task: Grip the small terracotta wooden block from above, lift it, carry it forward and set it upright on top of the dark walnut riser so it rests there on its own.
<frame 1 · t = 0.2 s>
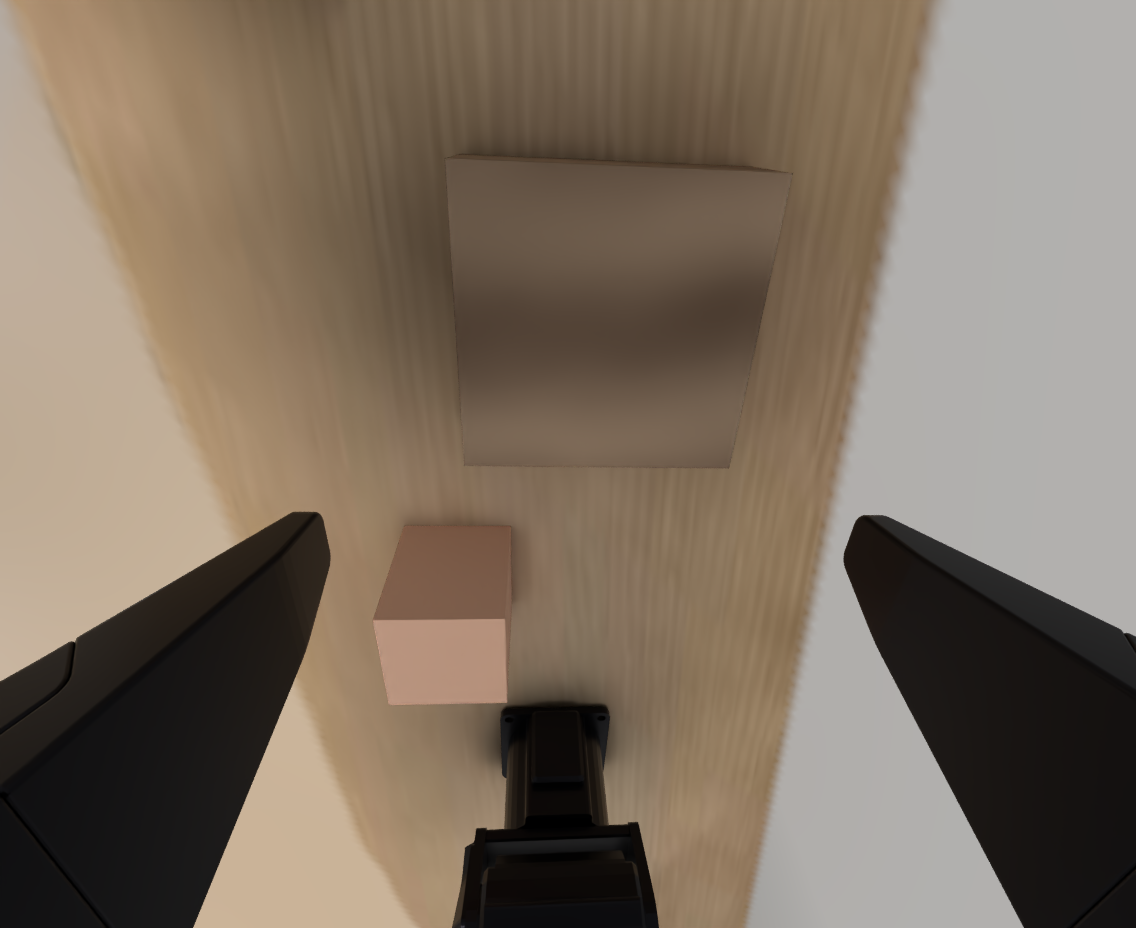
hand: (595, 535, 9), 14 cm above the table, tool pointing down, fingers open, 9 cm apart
walnut riser: (597, 305, 22), on the table
terracotta block: (460, 565, 28), on the table
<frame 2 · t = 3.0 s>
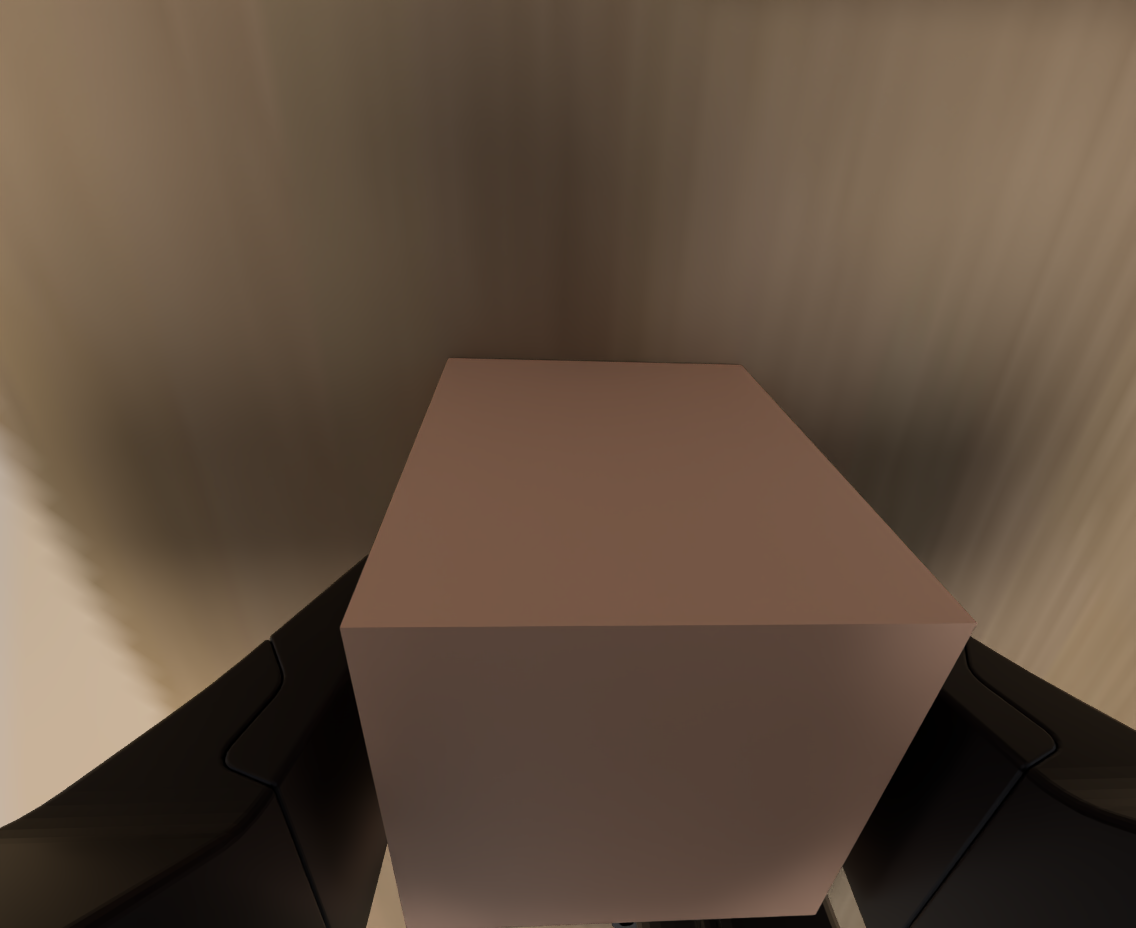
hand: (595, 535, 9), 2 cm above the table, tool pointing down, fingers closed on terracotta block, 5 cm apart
terracotta block: (588, 486, 11), on the table, touching gripper
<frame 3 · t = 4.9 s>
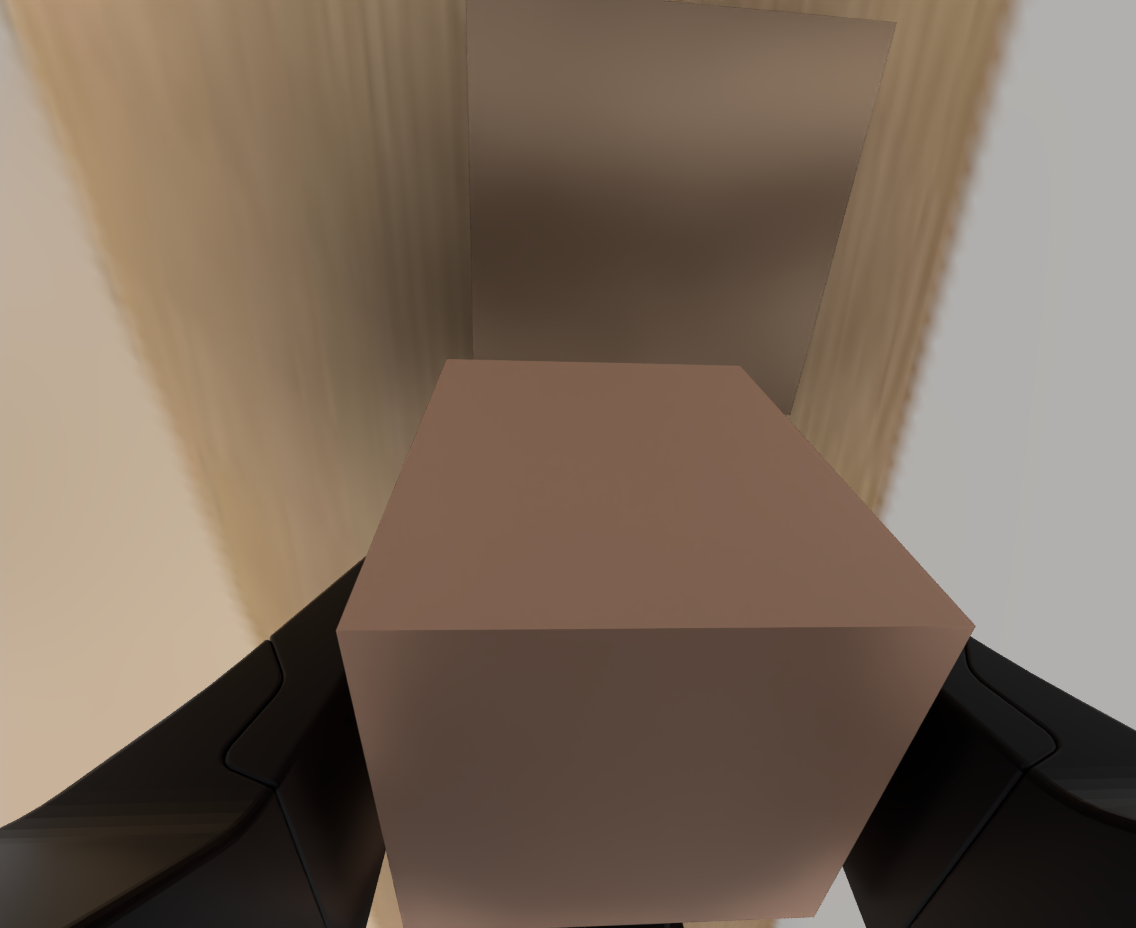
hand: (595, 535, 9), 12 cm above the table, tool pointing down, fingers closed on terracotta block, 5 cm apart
walnut riser: (634, 222, 19), on the table
terracotta block: (587, 487, 11), point 10 cm above the table, touching gripper
when the fingers open (7 cm above the table, at t = 6.8 s): terracotta block drops 2 cm, resting on walnut riser.
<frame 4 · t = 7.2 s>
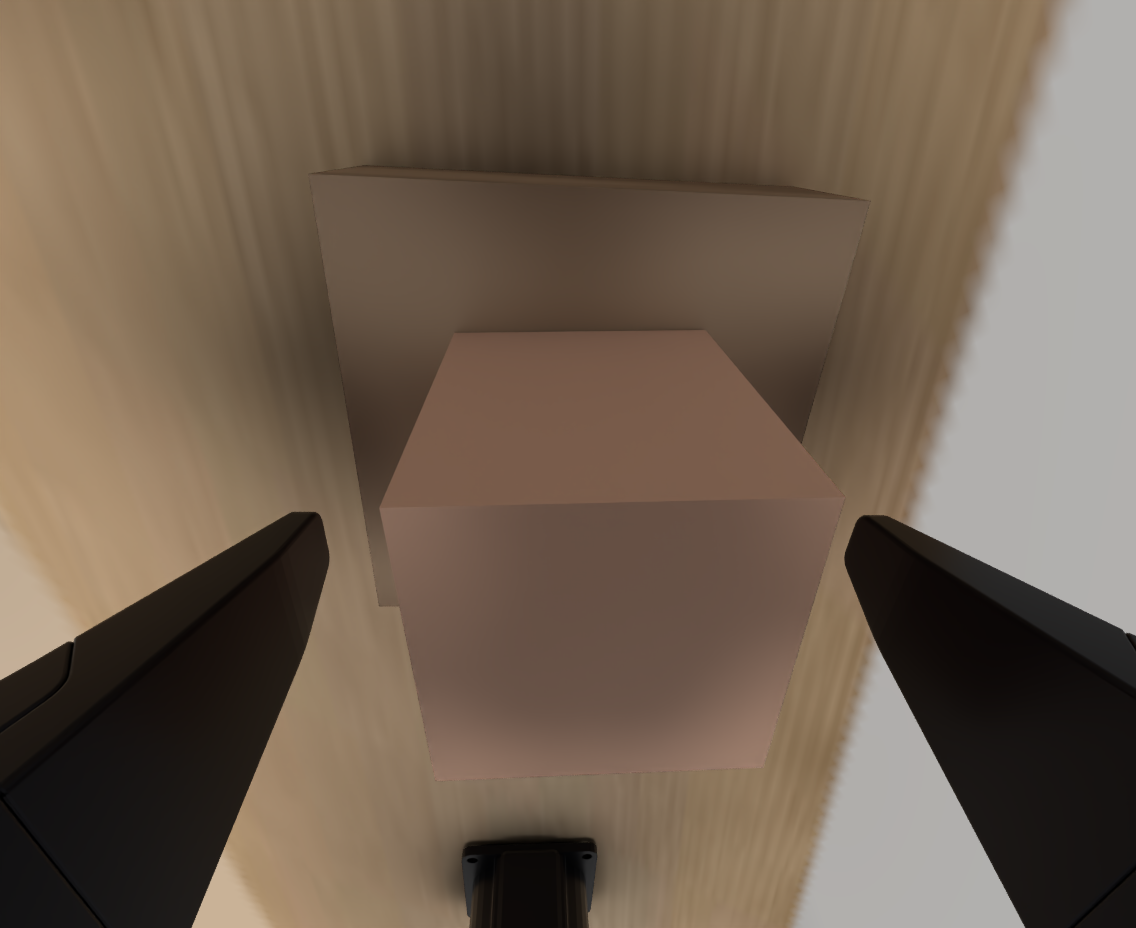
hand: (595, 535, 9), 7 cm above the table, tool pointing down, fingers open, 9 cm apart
walnut riser: (572, 373, 16), on the table, touching terracotta block
terracotta block: (579, 442, 12), point 4 cm above the table, touching walnut riser
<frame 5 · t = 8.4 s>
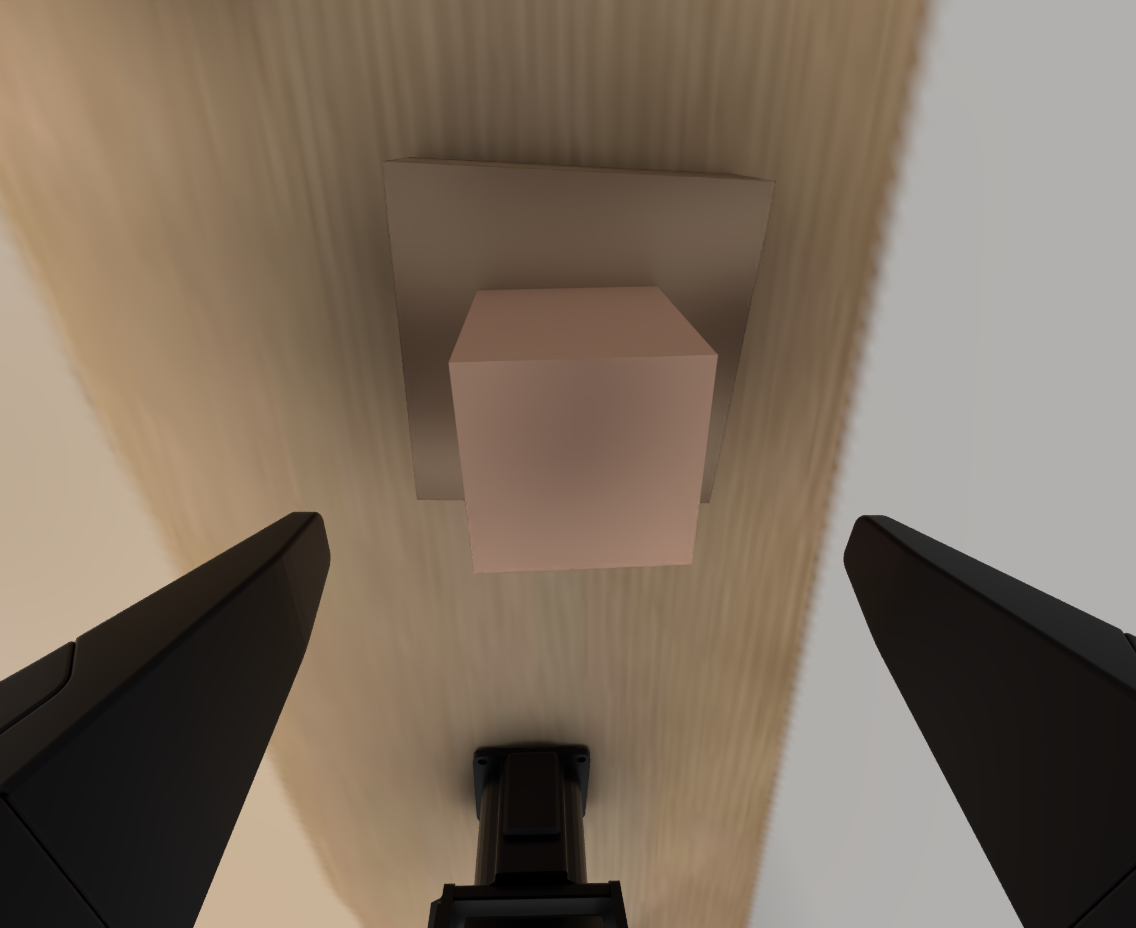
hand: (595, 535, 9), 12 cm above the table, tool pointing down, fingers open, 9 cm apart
walnut riser: (566, 323, 20), on the table, touching terracotta block
terracotta block: (568, 373, 17), point 4 cm above the table, touching walnut riser
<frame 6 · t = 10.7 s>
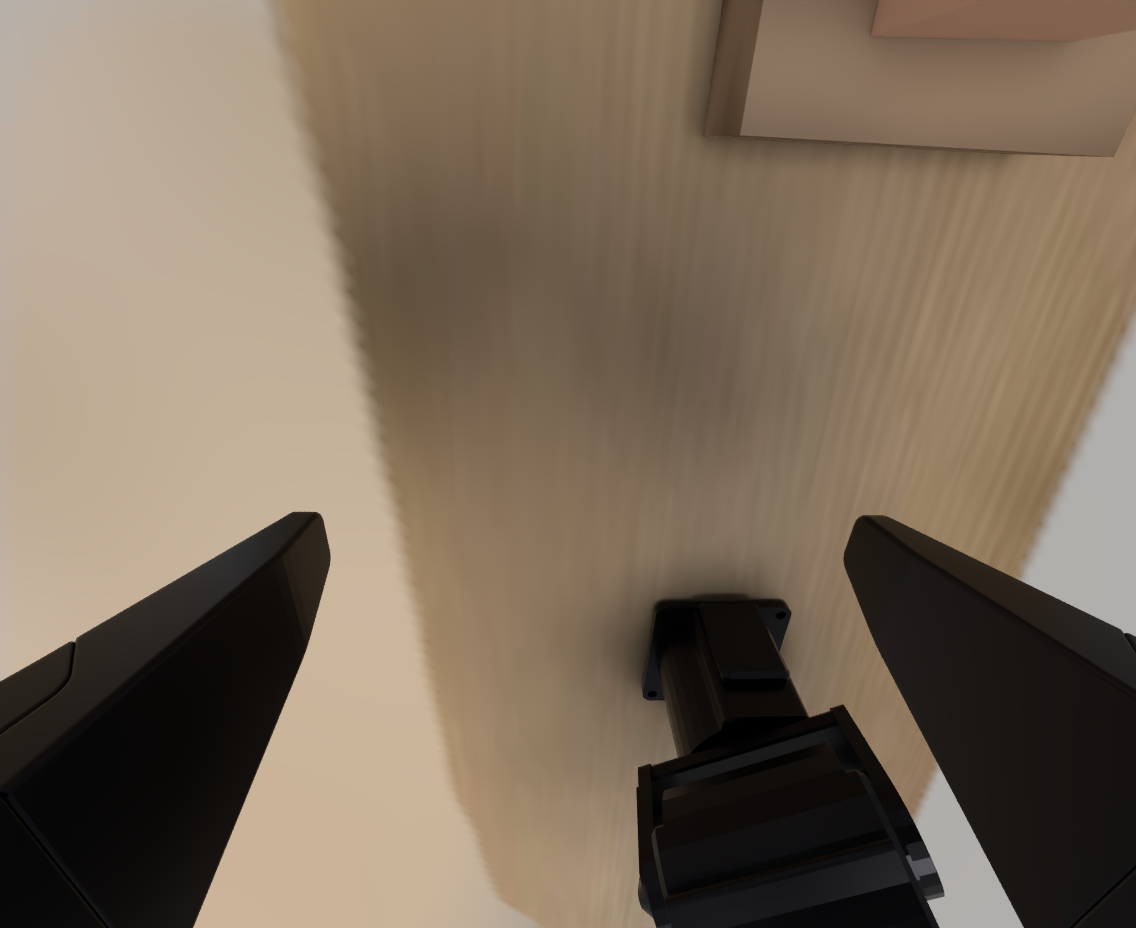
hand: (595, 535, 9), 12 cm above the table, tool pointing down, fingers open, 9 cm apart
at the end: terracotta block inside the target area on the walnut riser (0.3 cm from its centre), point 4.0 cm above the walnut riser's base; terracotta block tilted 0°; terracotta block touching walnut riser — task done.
